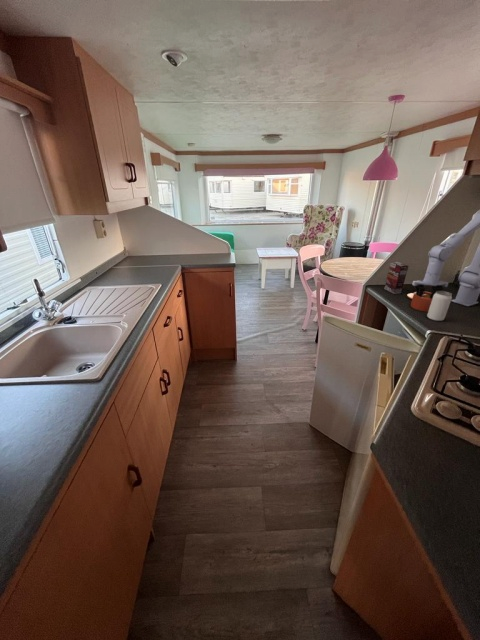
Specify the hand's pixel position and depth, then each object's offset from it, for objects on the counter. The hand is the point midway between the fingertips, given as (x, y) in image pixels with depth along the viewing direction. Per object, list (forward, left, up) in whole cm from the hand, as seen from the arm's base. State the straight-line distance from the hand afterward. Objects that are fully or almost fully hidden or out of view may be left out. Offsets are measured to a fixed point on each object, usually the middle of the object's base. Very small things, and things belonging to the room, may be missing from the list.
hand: (424, 300), depth 128 cm
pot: (0, 0, -4) cm, 4 cm away
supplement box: (-8, -22, -4) cm, 24 cm away
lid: (-10, -8, -3) cm, 13 cm away
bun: (0, 0, -1) cm, 1 cm away
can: (+7, +10, -4) cm, 13 cm away
